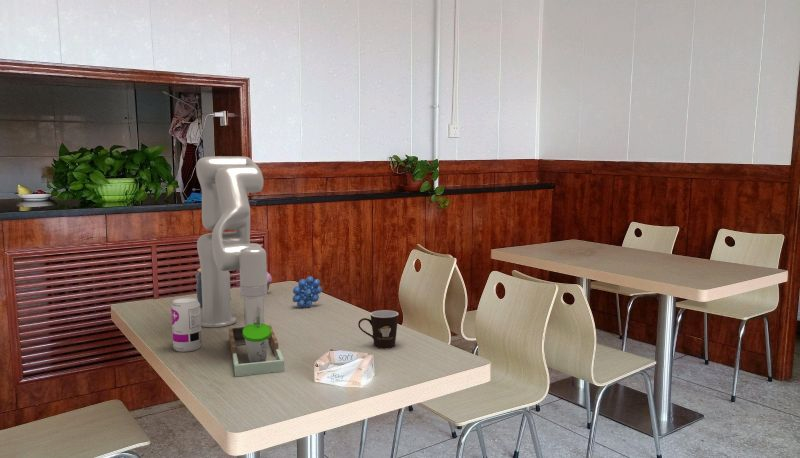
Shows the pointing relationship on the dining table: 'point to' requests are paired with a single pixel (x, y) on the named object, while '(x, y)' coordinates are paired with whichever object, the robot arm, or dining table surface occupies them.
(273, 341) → the brown wooden tray
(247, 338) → the cup
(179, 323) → the supplement can
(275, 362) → the bay
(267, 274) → the cupcake
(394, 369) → the dining table surface
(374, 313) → the coffee mug
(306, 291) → the grapes
